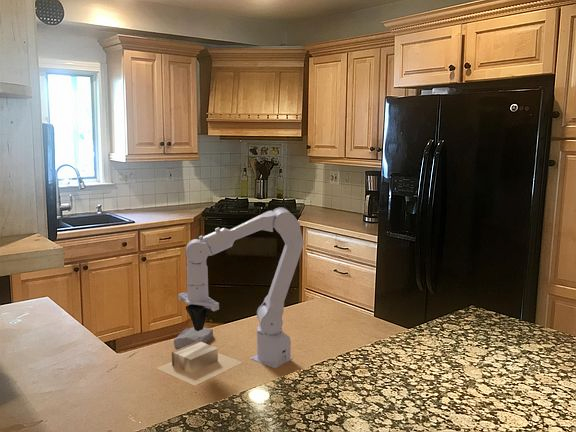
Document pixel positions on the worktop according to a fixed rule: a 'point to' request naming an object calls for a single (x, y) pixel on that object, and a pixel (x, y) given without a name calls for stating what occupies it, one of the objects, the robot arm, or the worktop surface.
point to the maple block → (194, 356)
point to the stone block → (193, 337)
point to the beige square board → (201, 370)
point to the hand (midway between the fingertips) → (198, 329)
